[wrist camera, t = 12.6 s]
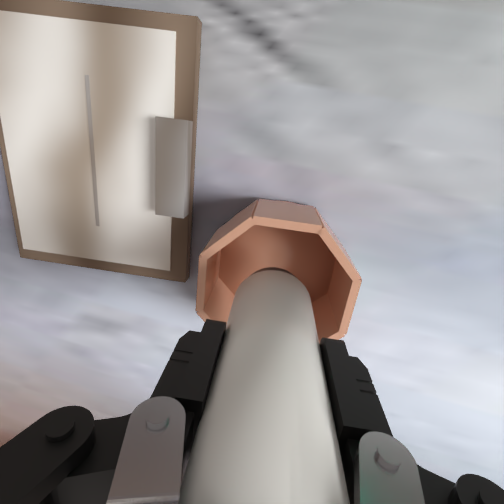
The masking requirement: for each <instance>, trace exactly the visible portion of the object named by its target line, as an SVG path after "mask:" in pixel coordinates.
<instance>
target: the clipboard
mask: <svg viewBox="0 0 504 504" xmlns="http://www.w3.org/2000/svg"><path fill="white" fill-rule="evenodd" d="M201 27H202V22H201V21H200V19H199V18H198V17H197V16H188V15H180V14H171V13H163V12H154V11H146V10H137V9H129V8H120V7H112V6H103V5H95V4H86V3H78V2H69V1H61V0H0V147H1V152H2V158H3V164H4V169H5V175H6V180H7V186H8V191H9V197H10V203H11V208H12V214H13V219H14V225H15V230H16V236H17V242H18V247H19V253H20V257H22V258H28V259H35V260H41V261H48V262H55V263H61V264H68V265H74V266H81V267H87V268H94V269H100V270H107V271H114V272H120V273H127V274H133V275H140V276H146V277H153V278H159V279H166V280H172V281H179V282H186V281H187V280H188V278H189V270H190V250H191V230H192V210H193V189H194V169H195V149H196V128H197V108H198V88H199V68H200V47H201Z"/></svg>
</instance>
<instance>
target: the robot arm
mask: <svg viewBox="0 0 504 504" xmlns="http://www.w3.org/2000/svg"><path fill="white" fill-rule="evenodd" d="M225 331H226V322H223V321H217V320H210V319H206V321H205V323H204V326H203V328H202V331H201V332H195V331H188V332H187V333H186V334H185V335H184V336H182V337H181V338H180V339H179V341H178V343H177V345H176V347H175V349H174V352H173V353H172V355H171V357H170V360H169V361H168V363H167V365H166V367H165V369H164V371H163V373H162V375H161V377H160V379H159V381H158V383H157V385H156V387H155V389H154V391H153V394H152V395H151V397H150V399H148V400H146V401H144V402H142V403H141V404H139V405H138V406H137V407H136V408H135V409H134V411H133V412H132V413H131V414H128V415H125V416H122V417H116V418H109V419H101V420H94V418H93V415H92V413H91V412H90V411H89V410H88V409H86V408H84V407H80V406H67V407H62V408H59V409H56V410H54V411H51V412H50V413H48V414H46V415H44V416H43V417H41V418H40V419H39V420H37V421H36V422H35V423H33V424H32V425H30V426H29V427H28V428H26V429H25V430H24V431H22V432H21V433H20V434H18V435H17V436H15V437H14V438H13V439H11V440H10V441H9V442H7V443H6V444H4V445H3V446H2V447H0V504H179V500H180V488H181V485H182V481H183V477H184V474H185V470H186V467H187V463H188V460H189V456H190V453H191V449H192V445H193V442H194V438H195V435H196V431H197V428H198V425H199V422H200V420H201V418H202V414H203V410H204V407H205V403H206V400H207V396H208V392H209V389H210V385H211V381H212V378H213V374H214V371H215V367H216V363H217V360H218V356H219V352H220V349H221V345H222V342H223V338H224V334H225ZM319 345H320V350H321V355H322V361H323V366H324V371H325V376H326V381H327V387H328V392H329V397H330V402H331V407H332V413H333V418H334V423H335V428H336V433H337V439H338V444H339V449H340V454H341V459H342V465H343V470H344V475H345V480H346V485H347V491H348V496H349V501H350V504H504V490H503V489H502V488H501V487H499V486H498V485H496V484H495V483H493V482H492V481H490V480H488V479H486V478H484V477H481V476H479V475H474V474H465V475H462V476H461V477H460V478H459V479H458V480H457V482H456V484H455V483H453V482H451V481H449V480H447V479H445V478H442V477H440V476H438V475H436V474H434V473H432V472H430V471H428V470H426V469H424V468H422V467H420V466H419V465H417V464H416V462H415V459H414V458H413V456H412V454H411V453H410V452H409V450H408V449H407V448H406V447H405V446H404V445H403V444H402V443H401V442H399V441H398V440H397V439H395V438H394V437H393V435H392V433H391V430H390V427H389V425H388V422H387V419H386V417H385V414H384V411H383V409H382V406H381V403H380V401H379V398H378V396H377V395H376V390H375V388H374V385H373V384H372V380H371V377H370V374H369V372H368V369H367V368H366V367H365V366H364V364H363V363H362V362H361V361H360V360H359V359H358V357H352V356H349V355H348V352H347V349H346V345H345V343H344V341H343V340H337V339H330V338H324V337H323V338H322V339H321V341H320V344H319Z"/></svg>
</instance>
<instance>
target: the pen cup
mask: <svg viewBox="0 0 504 504" xmlns="http://www.w3.org/2000/svg"><path fill="white" fill-rule="evenodd" d="M268 267H277V268H282V269H284V270H287V271H289V272H290V273H292V274H293V275H294V276H295V277H296V278H297V279H298V280H300V281H301V282H302V283H303V284H304V286H305V287H306V289H307V290H308V292H309V295H310V298H311V303H312V309H313V314H314V319H315V324H316V329H317V335H318V340H319V344H320V341H321V339H322V338H323V337H324V338H330V339H337V340H339V339H340V338H342V337H344V336H345V335H344V334H346V333H347V330H348V327H349V323H350V320H351V316H352V313H353V309H354V306H355V302H356V299H357V296H358V292H359V289H360V285H361V282H362V280H361V276H360V275H359V273H358V271H357V269H356V268H355V266H354V264H353V262H352V261H351V259H350V257H349V255H348V254H347V252H346V250H345V248H344V247H343V246H342V244H341V243H340V241H339V240H338V239H337V237H336V236H335V234H334V233H333V232H332V230H331V229H330V227H329V226H328V224H327V223H326V222H325V220H324V219H323V218H322V216H321V215H320V213H319V212H318V211H317V209H316V208H314V207H313V206H309V205H302V204H297V203H294V202H289V201H280V200H266V199H259V201H258V199H257V200H255V201H254V202H253V203H252V204H250V205H249V206H248V207H246V208H245V209H243V210H242V211H240V212H239V213H237V214H236V215H235V216H234V217H233V218H231V219H230V220H229V221H228V222H226V223H225V224H224V225H223V226H221V227H220V228H219V229H217V230H216V232H215V233H214V235H213V236H212V238H211V239H210V240H209V242H208V243H207V245H206V246H205V248H204V249H203V251H202V252H201V254H200V256H199V265H198V281H197V297H196V311H197V314H198V315H199V316H200V317H201V318H202V319H203V321H204V322H205V321H206V319H210V320H217V321H223V322H226V325H227V321H228V317H229V314H230V310H231V307H232V303H233V300H234V296H235V293H236V290H237V289H238V287H239V285H240V284H241V283H242V282H243V281H244V280H245V279H246V278H248V277H249V276H250V275H251V274H253V273H254V272H256V271H257V270H260V269H263V268H268Z"/></svg>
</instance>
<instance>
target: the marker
mask: <svg viewBox="0 0 504 504" xmlns="http://www.w3.org/2000/svg"><path fill="white" fill-rule="evenodd" d="M179 504H350V501H349V496H348V491H347V485H346V480H345V475H344V470H343V465H342V459H341V454H340V449H339V444H338V439H337V433H336V428H335V423H334V418H333V413H332V407H331V402H330V397H329V392H328V387H327V381H326V376H325V371H324V366H323V361H322V355H321V350H320V345H319V340H318V335H317V329H316V324H315V319H314V314H313V309H312V303H311V298H310V295H309V292H308V290H307V289H306V287H305V286H304V284H303V283H302V282H301V281H300V280H298V279H297V278H296V277H295V276H294V275H293V274H292V273H290V272H289V271H287V270H284V269H282V268H277V267H268V268H263V269H260V270H257V271H256V272H254V273H253V274H251V275H250V276H249V277H248V278H246V279H245V280H244V281H243V282H242V283H241V284H240V285H239V287H238V289H237V290H236V293H235V296H234V300H233V303H232V307H231V310H230V314H229V317H228V321H227V325H226V331H225V334H224V338H223V342H222V345H221V349H220V352H219V356H218V360H217V363H216V367H215V371H214V374H213V378H212V381H211V385H210V389H209V392H208V396H207V400H206V403H205V407H204V410H203V414H202V418H201V420H200V422H199V425H198V428H197V431H196V435H195V438H194V442H193V445H192V449H191V453H190V456H189V460H188V463H187V467H186V470H185V474H184V477H183V481H182V485H181V488H180V500H179Z"/></svg>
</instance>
